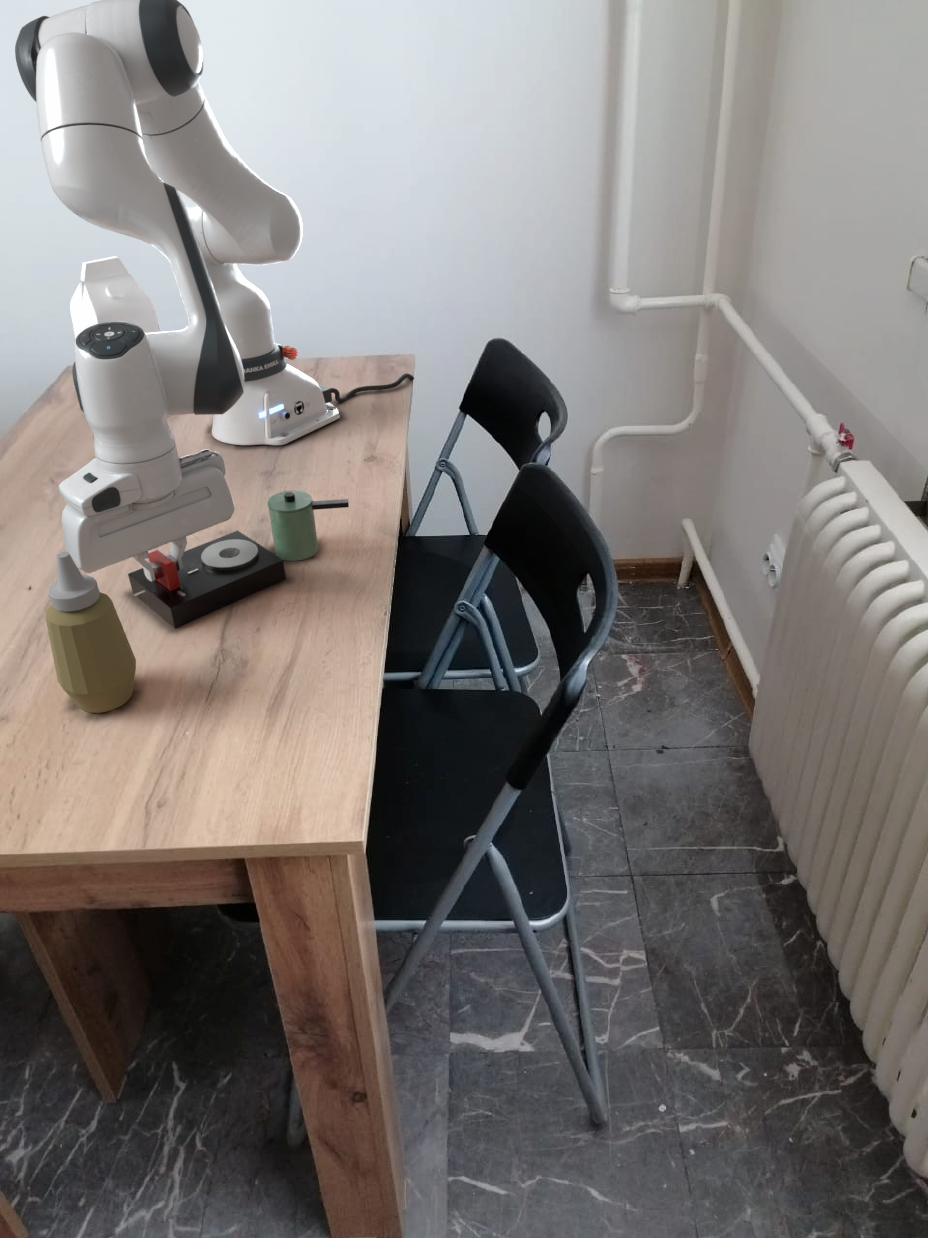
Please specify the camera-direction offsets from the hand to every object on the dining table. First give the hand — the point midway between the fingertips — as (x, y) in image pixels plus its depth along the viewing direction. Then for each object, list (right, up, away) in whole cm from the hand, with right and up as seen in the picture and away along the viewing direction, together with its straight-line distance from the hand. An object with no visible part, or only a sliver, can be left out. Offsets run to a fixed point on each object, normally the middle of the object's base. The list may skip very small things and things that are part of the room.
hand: (164, 573), depth 116 cm
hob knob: (0, -1, +1) cm, 1 cm away
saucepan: (+16, +4, +13) cm, 21 cm away
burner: (+7, +3, +6) cm, 9 cm away
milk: (-24, +33, +57) cm, 71 cm away
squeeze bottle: (-2, -14, -13) cm, 19 cm away
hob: (+4, -1, +5) cm, 7 cm away
